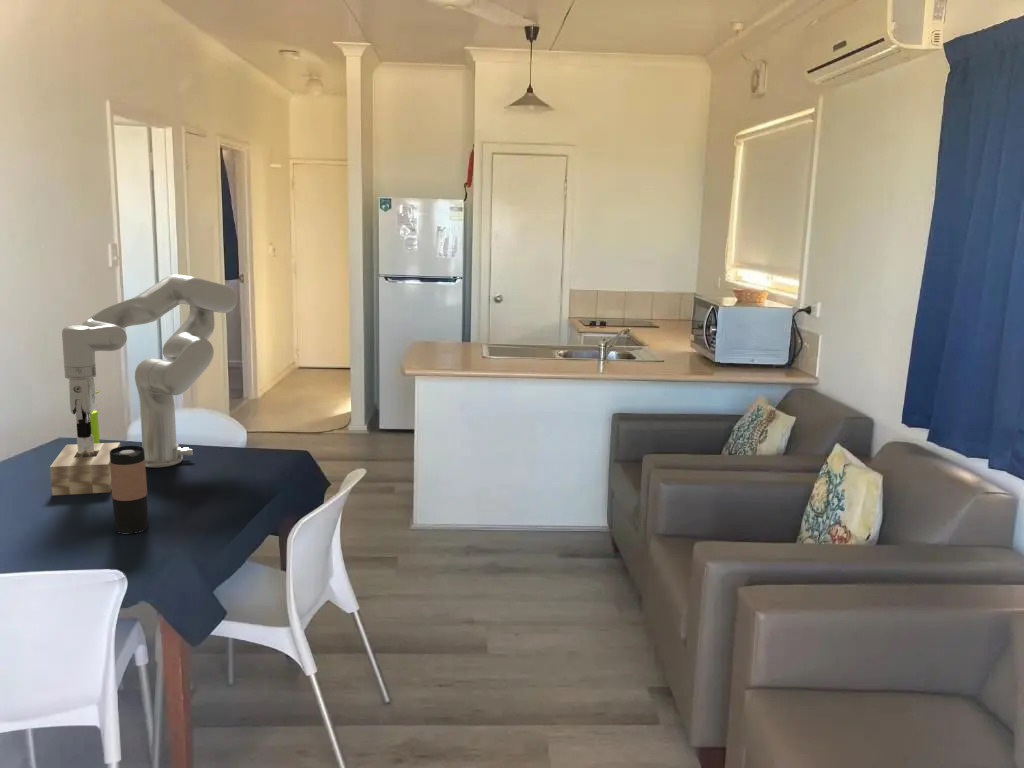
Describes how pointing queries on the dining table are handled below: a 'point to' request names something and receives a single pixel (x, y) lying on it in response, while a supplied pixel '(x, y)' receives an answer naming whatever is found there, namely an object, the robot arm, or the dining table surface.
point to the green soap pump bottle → (95, 424)
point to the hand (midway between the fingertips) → (84, 436)
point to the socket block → (82, 471)
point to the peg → (85, 446)
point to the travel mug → (129, 488)
